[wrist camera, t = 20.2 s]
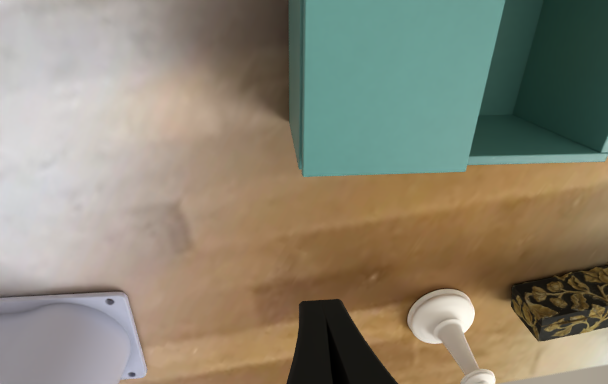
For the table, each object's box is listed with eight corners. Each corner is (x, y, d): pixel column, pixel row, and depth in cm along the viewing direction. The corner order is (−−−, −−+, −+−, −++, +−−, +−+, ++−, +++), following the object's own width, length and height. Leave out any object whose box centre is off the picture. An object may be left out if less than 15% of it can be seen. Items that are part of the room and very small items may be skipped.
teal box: (289, 122, 20) (298, 170, 14) (287, -122, 15) (301, -200, 9) (512, 119, 21) (605, 161, 15) (575, -109, 16) (744, -172, 10)
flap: (301, 172, 14) (302, 177, 13) (305, -206, 9) (307, -214, 9) (460, 168, 14) (465, 172, 14) (540, -189, 10) (552, -197, 9)
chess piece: (442, 277, 26) (536, 419, 17) (484, 307, 27) (588, 450, 19) (393, 320, 27) (455, 471, 18) (435, 345, 29) (511, 494, 20)
